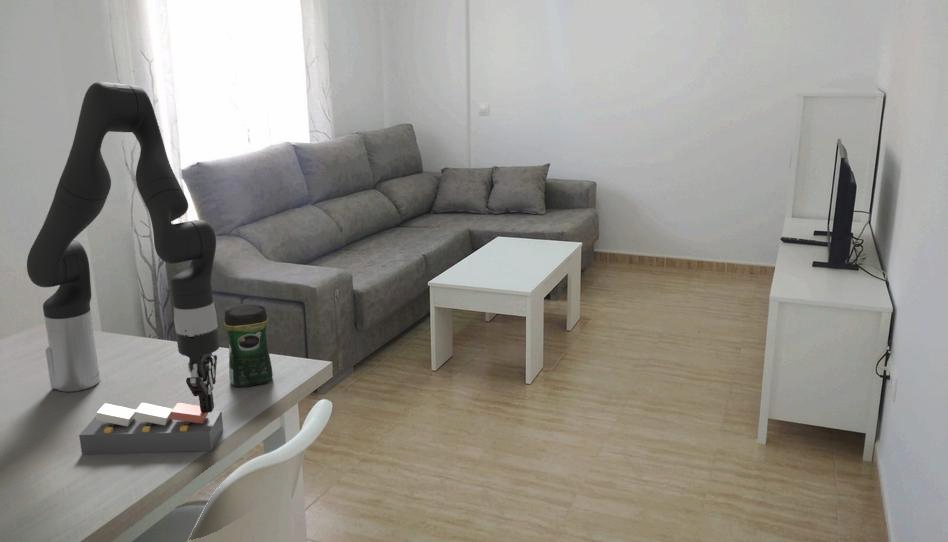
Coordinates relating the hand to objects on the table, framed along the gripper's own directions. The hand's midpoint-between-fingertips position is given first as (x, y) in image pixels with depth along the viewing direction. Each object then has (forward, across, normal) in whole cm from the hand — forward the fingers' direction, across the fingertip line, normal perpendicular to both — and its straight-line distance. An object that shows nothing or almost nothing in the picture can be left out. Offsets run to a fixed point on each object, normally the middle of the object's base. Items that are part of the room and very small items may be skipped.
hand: (207, 410), depth 151 cm
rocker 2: (+1, 0, -11) cm, 11 cm away
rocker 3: (+2, 0, -4) cm, 4 cm away
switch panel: (+6, 0, -11) cm, 12 cm away
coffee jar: (+6, -29, +2) cm, 29 cm away
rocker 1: (+1, 0, -18) cm, 18 cm away
